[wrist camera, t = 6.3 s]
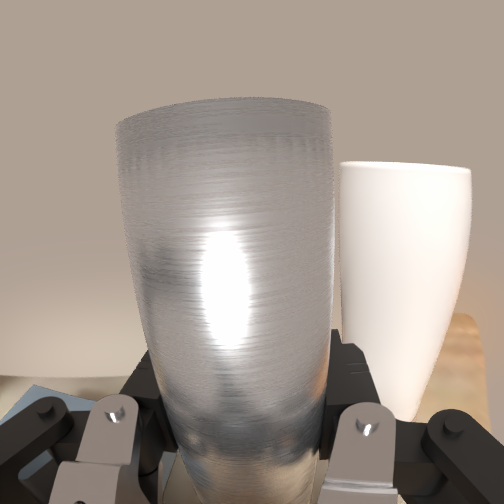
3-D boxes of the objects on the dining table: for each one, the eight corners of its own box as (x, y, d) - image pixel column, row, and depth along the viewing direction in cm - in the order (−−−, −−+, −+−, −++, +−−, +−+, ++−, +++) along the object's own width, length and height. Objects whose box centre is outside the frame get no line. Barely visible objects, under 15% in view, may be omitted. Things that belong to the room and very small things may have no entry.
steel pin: (210, 559, 8) (69, 128, 4) (223, 496, 12) (162, 137, 8) (303, 564, 8) (352, 93, 3) (303, 499, 12) (317, 125, 7)
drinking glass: (409, 373, 20) (434, 164, 16) (438, 436, 14) (501, 172, 10) (322, 381, 21) (327, 161, 17) (332, 453, 15) (355, 162, 10)
